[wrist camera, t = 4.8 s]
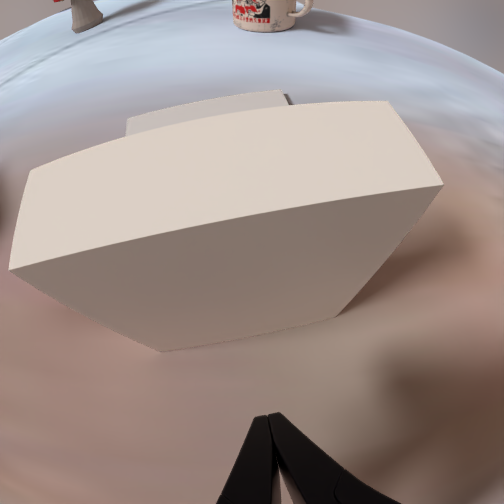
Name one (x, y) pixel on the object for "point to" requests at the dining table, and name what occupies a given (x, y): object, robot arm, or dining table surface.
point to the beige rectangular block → (224, 221)
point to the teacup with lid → (267, 14)
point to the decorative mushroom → (84, 15)
